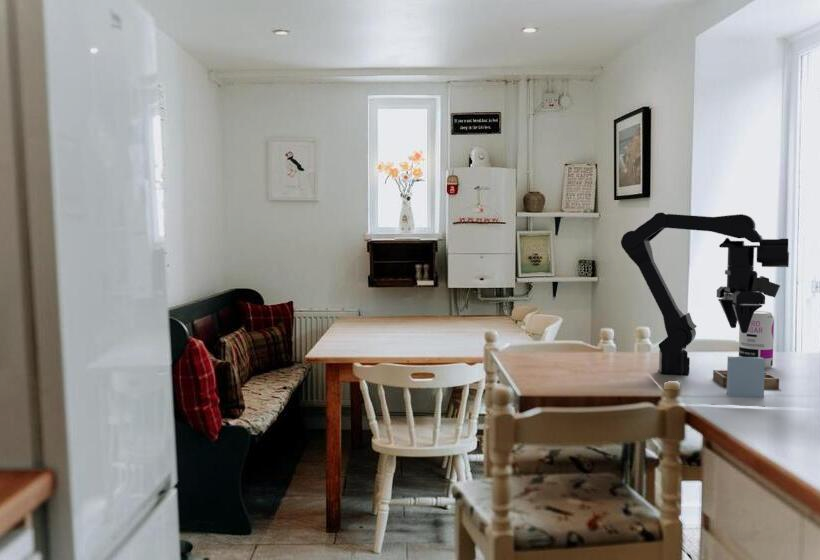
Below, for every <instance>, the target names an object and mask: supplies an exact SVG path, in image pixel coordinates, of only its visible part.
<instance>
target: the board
mask: <svg viewBox="0 0 820 560" xmlns="http://www.w3.org/2000/svg"><path fill="white" fill-rule="evenodd" d="M765 369H766V368H765V359H764V358H762V357H739V356H729V355H728V356H727V369H726V370H727V388H726V395H727V396H728V397H743V398H745V397H746V398H764V397H765V390H764V374H765V372H766V370H765Z"/></svg>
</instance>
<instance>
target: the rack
mask: <svg viewBox="0 0 820 560" xmlns="http://www.w3.org/2000/svg"><path fill="white" fill-rule="evenodd" d="M712 372H713V373H712V378H711V379H712V380H713V381H715V382H716V383H717V384H718V385H720V386H721V387H722V388H724V389H727V369H725V370H722V369H721V370H719V369H713V371H712ZM764 376H765V378H764V391H765V390H766V391H782V389H780V378H778V377H776V376H775V375H773V374H772V373H770V372H768V371H765V374H764Z"/></svg>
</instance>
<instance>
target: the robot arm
mask: <svg viewBox="0 0 820 560" xmlns="http://www.w3.org/2000/svg"><path fill="white" fill-rule="evenodd" d="M666 228H667V229H675V230H688V231H689V230H691V231H702V232H713V233H716V234H719V235H720V234H721V235H723V236H728V237H726V238H725V239H724V241H723V242H722V243H720V244H719V245H718V246H719V248H727V268H726V269H725V270H724V275H726V286H724V285H723V286H720V287H718V288H717V289H716V298H718V299H717V300H718V302H719V303H720V306H721V308H722V311H723V313H724V315H725V317H726V319H727V322H728V324H729V326H730V328H731V329H736V328H737V323H738V326H739V327H740V330H741V332H742V333H747V331H748V328H749V325H750V322H751V319H752V316H753V314H754V312H755V311H758V310H759V309H760V308H762V307H763V305H766V296H767V297H768V296H769V297H772V298H776V297H777V293H778V291H779V290H780V287H781V285H780V284H777V283H775V282H772V281H770V279H769V277H765V276H762V275H760V276H759V277H758V272H757V270H754V263H755V261H754V260H755V248H756V263H759V264H761V267H762V268H763V267H765V268H766V267H767V268H789V265H790V264H789V262H790V252H789V238H776V239H775V238H771V239H770V238H769V239H767V238H763V236H762V235H760V233H759V232H758V231H757V230H756V222H755V220H754V219H753V217H751V216H749V215H746V214H742V213H741V214H730V215H729V214H727V215H720V216H703V215H690V214H688V215H687V214H673V213H665V212H661V211H660V212H656V213H655V214H654V215H653V216H652V217H651V218H650V219H648V220H647V221H645V222H644V223H643V224H640V225H639V226H638V227H637V228H636V229H635V230H629V231H627V232H625V233H624V234H623V236H622V237H621V240H620V245H621V248H622V249H623V250H624V252H625V253H626V254H627V256H628V257H629V259H630V260H632V262H633V263H634V264H635V265H636V266H637V267H638V269H639V271H640V273H641V274H642V277H643V279H644V280H645V283H646V285H647V287H648V289H649V290H650V293H651V295H652V297H653V299H654V301H655V303H656V304H657V306H658V308H659V311H660V313H661V314H662V318H663V322H664V323H663V324H664V328H665V332H666V335H667V336H666V338H664V339H663V340H662V341H660V342H659V344H658V348H659V351H658V352H659V353H658V354H659V356H658V357H659V358H658V364H659V365H658V369H657V371H658V372H659V373H660V375H661V376H662V375H663V376H685V377H686V376H689V374H690V364H691V363H690V362H691V361H690V357H689V356H688V351H687V350H686V348H687V346H689V345H690V344H692V342H693V341H694V340H695V338H696V335H697V331H696V328H697V327H698V326H697V325H696V324H695V323H694V321H693V318H692V316H691V313H690V312H686V313H685V314H684V313H683V312H682V310H680V309H679V307H678V305H677V303H676V301H675V299H674V297H673V296H672V295H673V294H672V293H671V291H670V289H669V288H668V285H667V284H666V281H665V280H664V278H663V275H662V273H661V272H660V270H659V268H658V266H657V264H656V263H655V259H654V255H653V248H652V246H651V243H650V242H651V241H652V240H653V239H654V238H655V237H657V236H658V235H659V234H660V233H662V231H664V230H665V229H666ZM729 237H731V238H736V239H745V240H747V241H749V242H750V243H759V244H758V245H755V244H754V245H749V244H748V245H747V244H746V245H745V241H744V240H731V239H730V238H729Z"/></svg>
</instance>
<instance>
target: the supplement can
mask: <svg viewBox="0 0 820 560" xmlns="http://www.w3.org/2000/svg"><path fill="white" fill-rule="evenodd" d="M774 333H775V318H774V316H773V314H772V312H770V311H763V310H762V311H761V310H756V311H755V312H754V314H753V316H752V319H751V322H750V325H749V328H748V331H747V333H742V332H741V330H740V327H739V333H738V357H762V358H764V359H765V369H769V368H772V367H773V366H774V364H773V363H774V340H775V339H774V335H775V334H774Z"/></svg>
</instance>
